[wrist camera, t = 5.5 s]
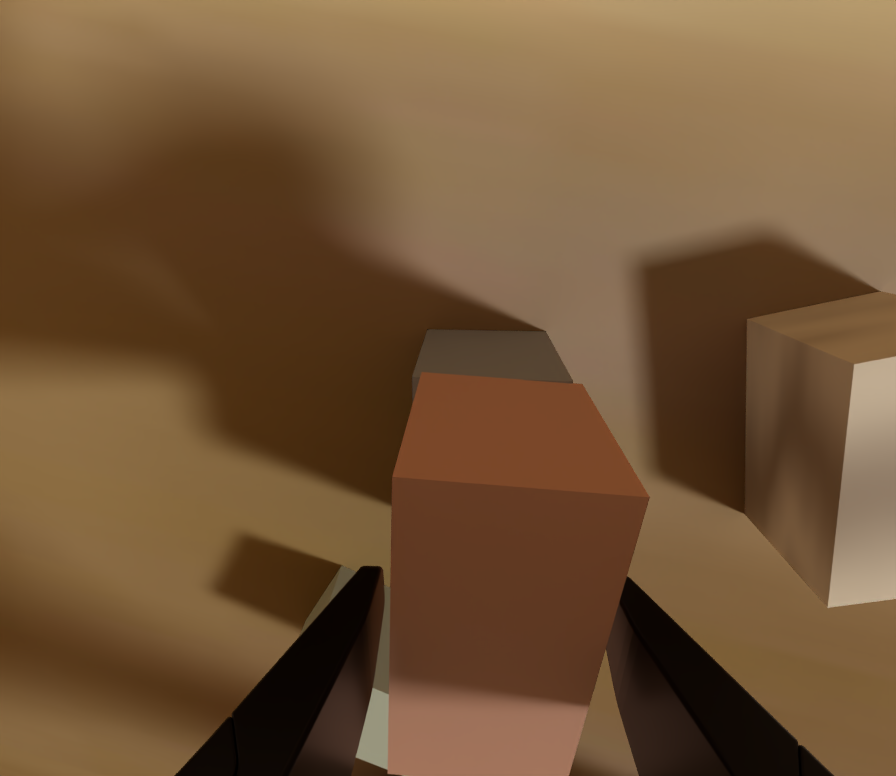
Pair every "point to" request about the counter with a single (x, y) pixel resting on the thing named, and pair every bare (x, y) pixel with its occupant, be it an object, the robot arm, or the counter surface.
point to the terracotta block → (503, 574)
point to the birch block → (826, 443)
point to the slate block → (490, 355)
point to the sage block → (376, 721)
